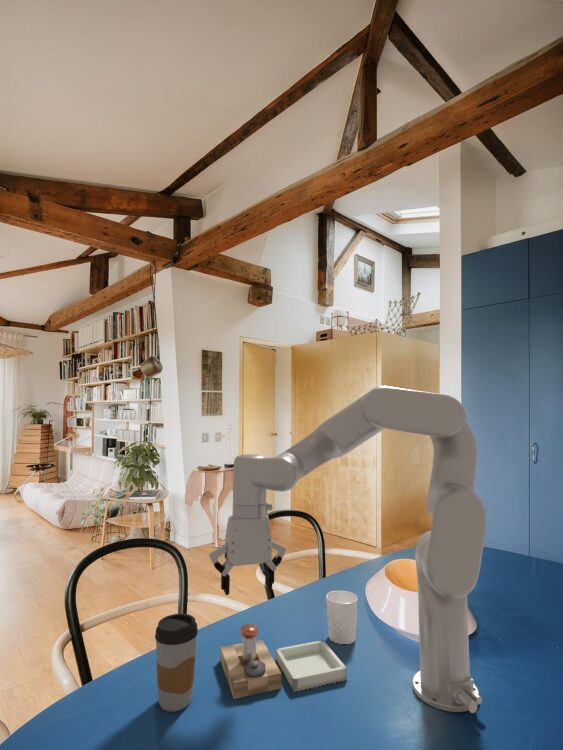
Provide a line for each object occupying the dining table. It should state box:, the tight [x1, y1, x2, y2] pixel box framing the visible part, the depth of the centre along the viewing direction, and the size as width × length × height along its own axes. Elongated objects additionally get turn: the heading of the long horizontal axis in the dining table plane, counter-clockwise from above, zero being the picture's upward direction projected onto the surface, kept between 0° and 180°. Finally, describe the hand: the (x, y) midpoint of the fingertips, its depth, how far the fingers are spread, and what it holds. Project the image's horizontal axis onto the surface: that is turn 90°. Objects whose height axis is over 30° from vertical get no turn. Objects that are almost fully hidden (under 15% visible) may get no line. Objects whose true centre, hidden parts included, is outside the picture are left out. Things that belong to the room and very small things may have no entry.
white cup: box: [325, 590, 358, 645], centre depth 110 cm, size 8×8×10 cm
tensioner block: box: [219, 639, 282, 700], centre depth 95 cm, size 14×10×5 cm
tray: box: [275, 639, 348, 693], centre depth 96 cm, size 12×12×2 cm
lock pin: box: [240, 623, 259, 667], centre depth 95 cm, size 4×4×10 cm
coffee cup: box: [154, 613, 199, 712], centre depth 86 cm, size 8×8×15 cm
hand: (247, 589), depth 96 cm, fingers open, 9 cm apart
